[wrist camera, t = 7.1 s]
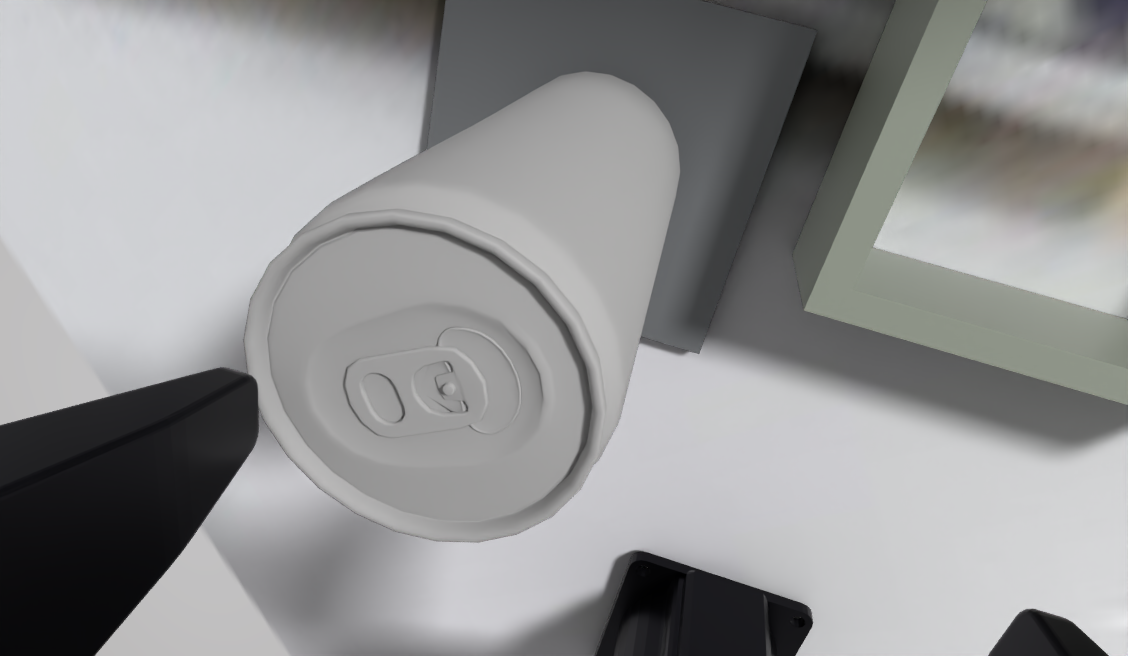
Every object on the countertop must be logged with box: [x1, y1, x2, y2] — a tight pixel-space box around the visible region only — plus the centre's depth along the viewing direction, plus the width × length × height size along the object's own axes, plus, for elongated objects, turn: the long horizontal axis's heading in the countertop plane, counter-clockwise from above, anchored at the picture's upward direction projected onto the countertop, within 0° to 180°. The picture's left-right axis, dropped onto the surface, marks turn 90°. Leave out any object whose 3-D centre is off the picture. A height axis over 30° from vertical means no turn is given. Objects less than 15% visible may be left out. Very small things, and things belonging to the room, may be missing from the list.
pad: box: [427, 0, 817, 354], centre depth 19 cm, size 9×9×1 cm
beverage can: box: [244, 71, 680, 543], centre depth 14 cm, size 5×5×12 cm
